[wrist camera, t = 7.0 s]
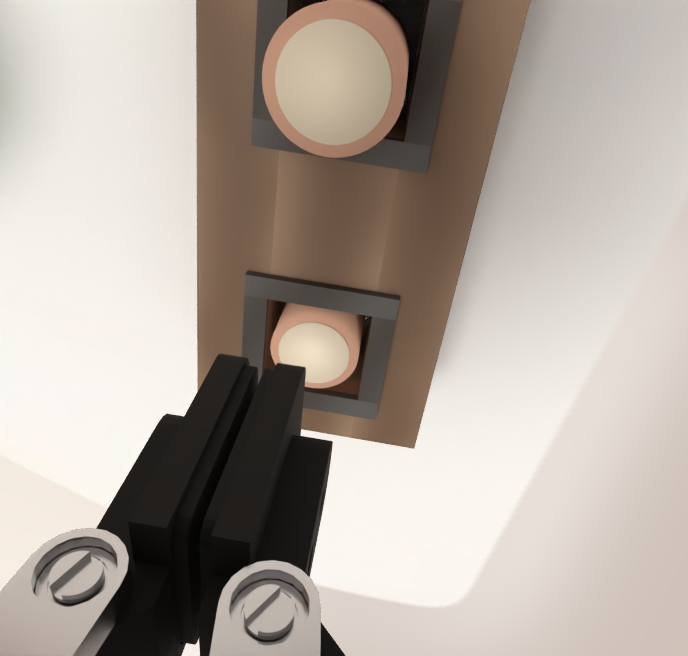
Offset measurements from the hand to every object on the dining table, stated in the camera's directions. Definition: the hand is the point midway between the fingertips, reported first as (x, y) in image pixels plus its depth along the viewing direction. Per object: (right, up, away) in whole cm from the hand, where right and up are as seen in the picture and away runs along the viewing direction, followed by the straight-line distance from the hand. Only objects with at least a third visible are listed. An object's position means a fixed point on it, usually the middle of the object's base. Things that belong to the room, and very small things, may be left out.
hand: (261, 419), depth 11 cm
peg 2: (+1, +4, +21) cm, 21 cm away
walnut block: (+2, +10, +18) cm, 20 cm away
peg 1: (+2, +12, +11) cm, 16 cm away
